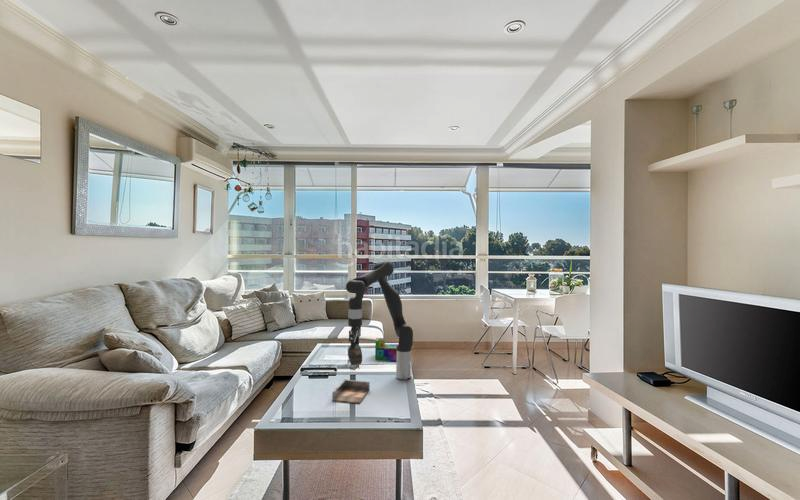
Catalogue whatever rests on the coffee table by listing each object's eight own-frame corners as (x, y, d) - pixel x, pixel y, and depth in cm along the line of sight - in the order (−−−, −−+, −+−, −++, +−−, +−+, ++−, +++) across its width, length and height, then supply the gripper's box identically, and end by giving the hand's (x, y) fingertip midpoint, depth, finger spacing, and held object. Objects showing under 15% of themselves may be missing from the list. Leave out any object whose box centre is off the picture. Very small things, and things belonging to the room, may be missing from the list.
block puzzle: (374, 361, 273) (374, 342, 273) (376, 354, 290) (376, 336, 290) (409, 362, 273) (410, 342, 272) (409, 355, 290) (409, 336, 289)
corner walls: (369, 389, 218) (369, 381, 218) (359, 402, 200) (359, 394, 200) (344, 386, 221) (344, 379, 221) (332, 399, 203) (332, 391, 202)
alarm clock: (362, 369, 206) (363, 339, 206) (353, 370, 203) (353, 340, 203) (355, 363, 216) (355, 334, 215) (346, 364, 213) (346, 335, 213)
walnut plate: (369, 390, 218) (369, 388, 218) (359, 403, 200) (359, 402, 200) (344, 388, 221) (344, 386, 221) (332, 401, 203) (332, 399, 203)
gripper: (352, 314, 217) (352, 343, 217) (344, 319, 203) (343, 350, 203) (365, 314, 216) (365, 344, 216) (357, 319, 201) (357, 351, 202)
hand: (354, 347), depth 209 cm, fingers closed on alarm clock, 7 cm apart
